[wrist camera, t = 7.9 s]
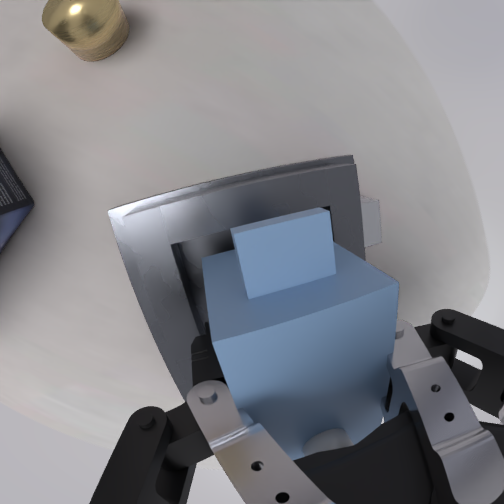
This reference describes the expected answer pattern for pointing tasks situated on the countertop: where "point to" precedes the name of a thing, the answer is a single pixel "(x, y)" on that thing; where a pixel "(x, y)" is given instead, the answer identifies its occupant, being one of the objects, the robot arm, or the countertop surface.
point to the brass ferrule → (87, 26)
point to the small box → (11, 201)
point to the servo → (302, 331)
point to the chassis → (225, 239)
